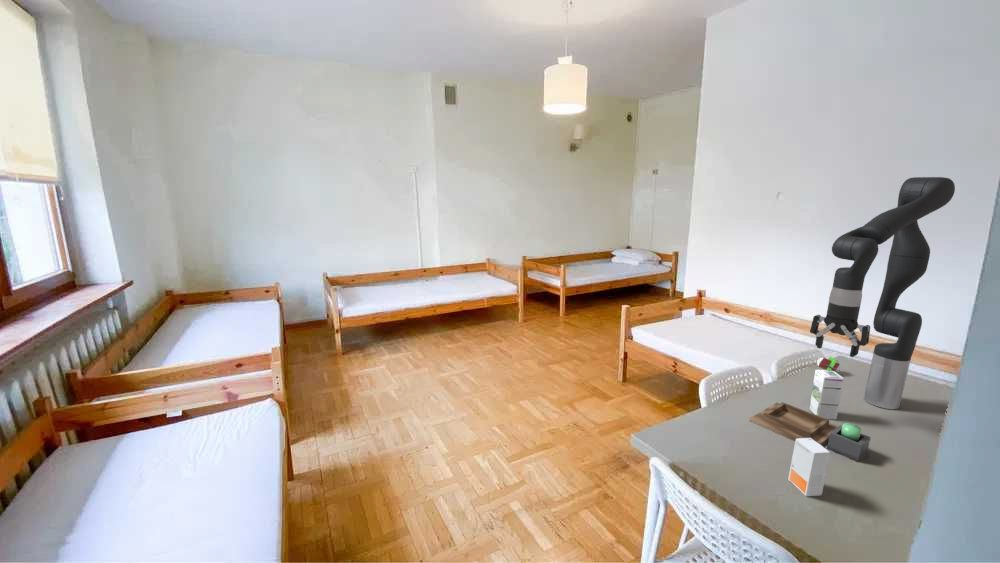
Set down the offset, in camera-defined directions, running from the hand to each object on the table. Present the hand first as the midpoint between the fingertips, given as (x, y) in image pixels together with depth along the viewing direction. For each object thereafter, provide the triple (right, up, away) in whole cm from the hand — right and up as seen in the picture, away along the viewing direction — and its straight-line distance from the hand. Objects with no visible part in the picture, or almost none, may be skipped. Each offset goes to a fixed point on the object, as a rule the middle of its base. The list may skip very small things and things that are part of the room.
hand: (835, 351), depth 132 cm
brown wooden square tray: (-14, -23, -1) cm, 27 cm away
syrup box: (0, -21, +5) cm, 22 cm away
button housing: (-8, -26, -14) cm, 30 cm away
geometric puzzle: (+26, -15, +36) cm, 47 cm away
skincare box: (-30, -29, -28) cm, 50 cm away
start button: (-8, -21, -15) cm, 27 cm away
